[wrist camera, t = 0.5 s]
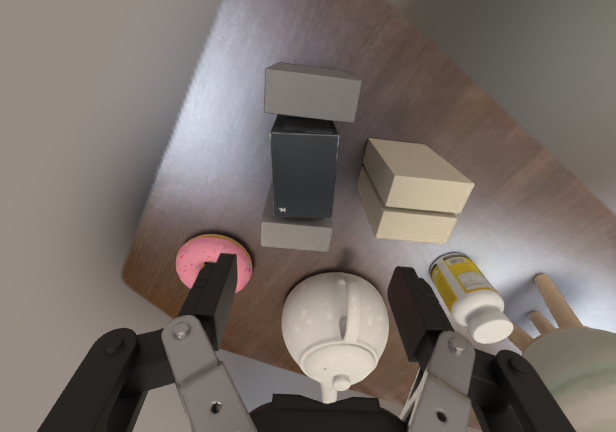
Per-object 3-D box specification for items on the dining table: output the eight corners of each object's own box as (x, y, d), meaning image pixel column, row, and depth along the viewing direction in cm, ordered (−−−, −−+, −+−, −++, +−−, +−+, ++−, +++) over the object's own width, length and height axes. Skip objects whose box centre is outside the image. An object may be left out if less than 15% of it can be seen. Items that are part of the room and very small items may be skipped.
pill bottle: (434, 286, 45) (471, 353, 35) (422, 261, 42) (459, 327, 32) (474, 271, 43) (525, 338, 33) (465, 244, 40) (517, 308, 30)
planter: (560, 248, 41) (785, 424, 22) (576, 305, 48) (757, 476, 29) (456, 292, 45) (565, 467, 27) (485, 338, 52) (586, 502, 34)
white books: (368, 137, 31) (394, 175, 22) (425, 144, 32) (475, 183, 23) (356, 187, 35) (375, 238, 26) (408, 192, 35) (445, 244, 26)
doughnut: (209, 214, 37) (198, 232, 33) (269, 257, 41) (266, 277, 38) (167, 257, 41) (154, 277, 37) (226, 293, 45) (220, 313, 42)
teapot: (406, 306, 47) (438, 390, 36) (323, 346, 53) (328, 428, 42) (345, 241, 40) (362, 321, 28) (256, 296, 46) (240, 380, 34)
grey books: (277, 62, 27) (265, 68, 19) (345, 71, 28) (362, 80, 19) (271, 199, 36) (260, 246, 27) (322, 204, 36) (328, 252, 28)
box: (324, 174, 34) (331, 220, 25) (279, 173, 34) (271, 218, 25) (330, 109, 30) (340, 134, 21) (279, 107, 30) (267, 132, 21)
